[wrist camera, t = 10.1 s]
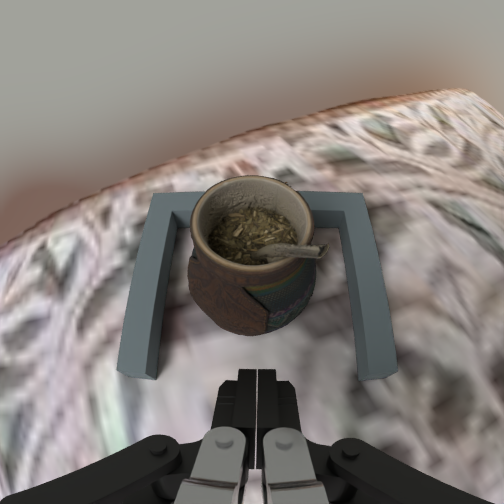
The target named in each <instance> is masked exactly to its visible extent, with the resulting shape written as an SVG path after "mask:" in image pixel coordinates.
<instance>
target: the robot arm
mask: <svg viewBox="0 0 504 504" xmlns="http://www.w3.org/2000/svg"><path fill="white" fill-rule="evenodd" d="M256 381H257V369H239V372H238V381H233V380H226V381H225V382H224V383H223V384H222V385H221V386H220V387H219V391H218V397H217V401H216V406H215V411H214V416H213V421H212V426H211V430H210V431H208V432H207V433H206V434H205V435H204V438H203V439H202V440H199V441H197V442H193V443H186V444H178V442H177V441H176V440H175V439H173V438H172V437H170V436H166V435H152V436H149V437H146V438H144V439H142V440H141V441H139V442H137V443H135V444H133V445H131V446H129V447H127V448H125V449H123V450H121V451H118V452H116V453H114V454H112V455H110V456H108V457H106V458H104V459H101V460H99V461H97V462H95V463H93V464H90V465H88V466H86V467H84V468H81V469H79V470H77V471H74V472H72V473H69V474H67V475H64V476H62V477H59V478H57V479H54V480H52V481H49V482H46V483H44V484H41V485H38V486H36V487H33V488H30V489H27V490H24V491H21V492H18V493H15V494H12V495H9V496H6V497H5V498H3V499H2V500H1V501H0V504H244V498H245V492H246V484H247V481H248V473H249V469H254V465H255V432H256ZM256 469H262V483H261V488H262V498H263V504H494V503H491V502H489V501H486V500H483V499H481V498H478V497H476V496H473V495H471V494H469V493H466V492H464V491H461V490H459V489H457V488H455V487H452V486H450V485H448V484H446V483H443V482H441V481H439V480H437V479H435V478H433V477H431V476H428V475H426V474H424V473H422V472H420V471H418V470H416V469H414V468H412V467H410V466H408V465H406V464H404V463H402V462H401V461H399V460H397V459H395V458H393V457H391V456H389V455H387V454H386V453H384V452H382V451H380V450H378V449H376V448H375V447H373V446H371V445H369V444H368V443H366V442H364V441H362V440H359V439H355V438H345V439H341V440H338V441H337V442H335V443H334V444H333V445H332V446H326V445H320V444H316V443H313V442H311V441H309V440H308V439H306V438H305V437H304V435H303V434H302V432H301V427H300V420H299V413H298V406H297V399H296V393H295V388H294V387H293V385H292V384H291V383H290V382H289V381H277V379H276V369H258V402H257V454H256Z"/></svg>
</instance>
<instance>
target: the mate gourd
mask: <svg viewBox="0 0 504 504" xmlns="http://www.w3.org/2000/svg"><path fill="white" fill-rule="evenodd" d="M286 183H287V182H285V183H284V182H282V181H280V180H277V179H274V178H269V177H264V176H255V175H250V176H248V175H247V176H239V177H234V178H230V179H227V180H224V181H221V182H219V183H217V184H215V185H214V186H212V187H211V188H209V189H208V190H207V191H206V192H205V193H204V194H203V195H202V196H201V197H200V198H199V200H198V201H197V203H196V204H195V206H194V208H193V211H192V214H191V216H190V217H191V218H190V232H191V238H192V239H193V244H194V249H193V252H192V256H191V257H190V259H189V265H188V275H187V276H188V280H189V290H190V293H191V295H192V297H193V299H194V300H195V302H196V303H197V304H198V306H199V307H200V308H201V309H202V310H203V311H204V312H205V313H206V314H207V315H208V316H209V317H210V318H211V319H212V320H213V321H214V322H215V323H216V324H217V325H218V326H220V327H221V328H223V329H224V330H227V331H229V332H232V333H235V334H238V335H245V336H256V335H261V334H265V333H269V332H272V331H274V330H277V329H279V328H282V327H284V326H286V325H288V323H289V322H291V321H292V320H293V319H295V318H296V317H297V316H298V315H299V314H300V313H301V312H302V310H303V309H304V308H305V306H306V305H307V303H308V302H309V299H310V297H311V296H312V294H313V290H314V287H315V280H316V263H315V258H317V259H319V258H322V256H324V255H325V254H326V253H327V251H328V249H329V243H328V244H326V245H325V244H324V245H322V244H321V245H318V246H317V245H311V241H312V239H313V235H314V228H315V226H314V219H313V214H312V211H311V209H310V207H309V205H308V203H307V202H306V200H305V199H304V197H303V196H302V195H301V194H300V193H299V192H298V191H294V190H293V189H292V188H290V187H291V186H290V187H289V186H288V184H286Z"/></svg>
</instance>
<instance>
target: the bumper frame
mask: <svg viewBox="0 0 504 504" xmlns="http://www.w3.org/2000/svg"><path fill="white" fill-rule="evenodd" d="M298 192H299V193H300V194H301V195H302V196H303V197H304V199H305V200H306V202H307V203H308V205H309V207H310V209H311V211H312V214H313V219H314V226H315V227H317V228H339V232H340V238H341V244H342V250H343V256H344V262H345V268H346V275H347V282H348V289H349V296H350V303H351V311H352V319H353V328H354V337H355V347H356V357H357V369H358V381H363V380H372V379H381V378H386V377H388V376H390V375H392V374H394V373H396V372H397V371H398V367H397V358H396V351H395V343H394V336H393V330H392V323H391V317H390V311H389V305H388V300H387V294H386V289H385V284H384V279H383V274H382V269H381V265H380V260H379V256H378V251H377V247H376V243H375V239H374V234H373V230H372V226H371V223H370V219H369V215H368V211H367V207H366V204H365V200H364V197H363V193H345V192H314V191H298ZM204 193H205V192H175V193H153V197H152V200H151V204H150V207H149V211H148V215H147V218H146V222H145V226H144V230H143V234H142V238H141V242H140V246H139V250H138V254H137V259H136V263H135V268H134V272H133V277H132V281H131V286H130V291H129V296H128V301H127V307H126V312H125V318H124V323H123V329H122V335H121V342H120V348H119V355H118V362H117V371H119V372H121V373H123V374H125V375H127V376H129V377H134V378H142V379H151V380H156V375H157V365H158V355H159V346H160V338H161V330H162V322H163V314H164V307H165V300H166V293H167V286H168V280H169V273H170V267H171V261H172V255H173V249H174V244H175V238H176V233H177V228H190V218H191V217H190V216H191V214H192V211H193V208H194V206H195V204H196V203H197V201H198V200H199V198H200V197H201V196H202V195H203V194H204Z"/></svg>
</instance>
